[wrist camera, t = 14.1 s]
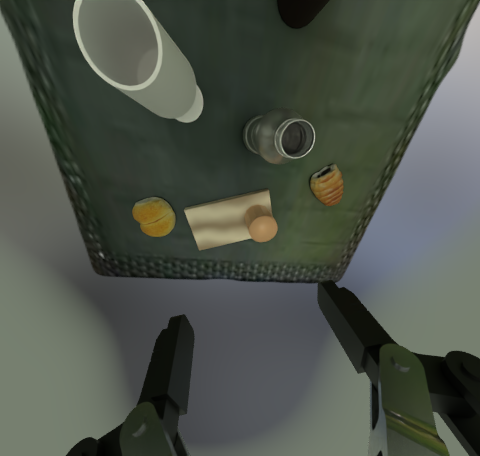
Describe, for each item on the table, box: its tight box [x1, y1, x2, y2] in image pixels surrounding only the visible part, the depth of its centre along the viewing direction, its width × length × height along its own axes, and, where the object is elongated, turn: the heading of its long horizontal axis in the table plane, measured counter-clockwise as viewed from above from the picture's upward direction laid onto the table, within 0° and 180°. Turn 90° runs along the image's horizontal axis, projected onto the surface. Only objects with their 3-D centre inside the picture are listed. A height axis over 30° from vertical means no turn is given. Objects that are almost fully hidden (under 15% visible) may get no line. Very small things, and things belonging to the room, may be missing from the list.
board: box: [184, 189, 272, 250], centre depth 43 cm, size 11×19×2 cm, turn 101°
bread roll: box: [132, 197, 176, 237], centre depth 39 cm, size 8×9×4 cm
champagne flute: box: [73, 0, 203, 123], centre depth 21 cm, size 7×7×24 cm
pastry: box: [310, 164, 344, 206], centre depth 41 cm, size 9×7×4 cm
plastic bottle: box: [243, 107, 315, 164], centre depth 27 cm, size 6×7×20 cm
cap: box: [244, 204, 277, 242], centre depth 39 cm, size 6×6×6 cm
